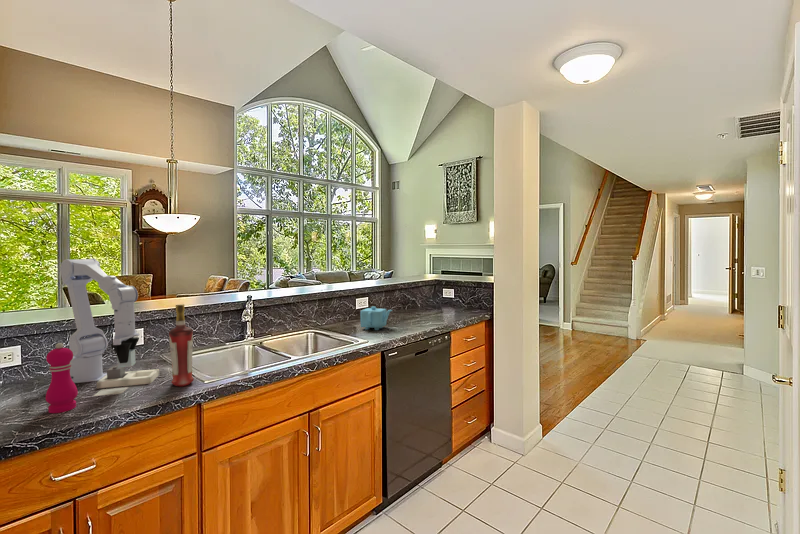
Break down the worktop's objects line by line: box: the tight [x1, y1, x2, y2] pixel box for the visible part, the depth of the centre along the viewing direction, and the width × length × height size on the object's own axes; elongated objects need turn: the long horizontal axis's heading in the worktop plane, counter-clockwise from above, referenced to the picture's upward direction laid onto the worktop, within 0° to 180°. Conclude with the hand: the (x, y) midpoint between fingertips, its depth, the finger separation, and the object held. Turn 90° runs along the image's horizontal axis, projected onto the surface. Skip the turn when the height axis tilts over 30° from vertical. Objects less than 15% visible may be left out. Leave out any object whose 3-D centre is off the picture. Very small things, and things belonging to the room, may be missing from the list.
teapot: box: [360, 305, 393, 331], centre depth 228 cm, size 18×16×13 cm
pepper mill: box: [45, 342, 79, 414], centre depth 115 cm, size 7×7×20 cm
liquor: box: [168, 303, 195, 388], centre depth 136 cm, size 7×7×28 cm
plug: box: [116, 348, 137, 368], centre depth 135 cm, size 4×4×6 cm
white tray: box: [96, 364, 160, 389], centre depth 139 cm, size 16×10×6 cm, turn 107°
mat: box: [93, 386, 129, 397], centre depth 129 cm, size 8×6×1 cm
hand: (126, 360), depth 135 cm, fingers closed on plug, 4 cm apart
